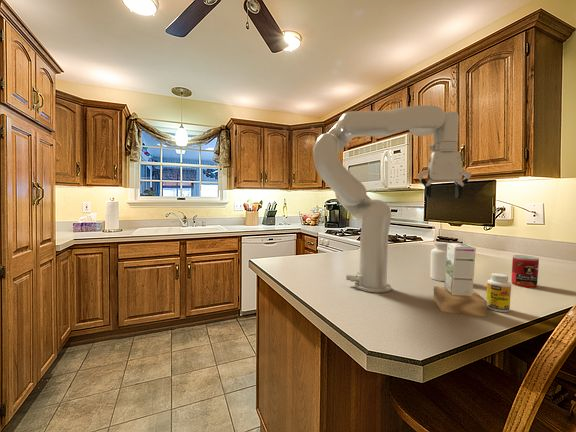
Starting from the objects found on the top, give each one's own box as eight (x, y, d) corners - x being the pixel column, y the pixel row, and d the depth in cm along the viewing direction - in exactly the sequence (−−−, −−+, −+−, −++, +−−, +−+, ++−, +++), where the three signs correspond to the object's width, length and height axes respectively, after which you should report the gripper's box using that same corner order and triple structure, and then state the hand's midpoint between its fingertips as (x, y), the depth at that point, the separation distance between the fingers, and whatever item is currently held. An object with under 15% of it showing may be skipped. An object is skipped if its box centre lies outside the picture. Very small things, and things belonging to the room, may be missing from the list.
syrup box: (472, 297, 80) (477, 247, 78) (450, 295, 81) (454, 246, 79) (463, 289, 86) (468, 243, 84) (443, 288, 87) (446, 242, 85)
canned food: (515, 286, 105) (517, 257, 105) (508, 281, 113) (509, 254, 112) (541, 289, 102) (543, 259, 102) (531, 283, 110) (533, 255, 109)
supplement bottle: (486, 310, 81) (488, 275, 81) (485, 304, 86) (486, 271, 85) (511, 314, 78) (513, 278, 78) (508, 308, 83) (510, 274, 82)
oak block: (441, 312, 80) (441, 296, 80) (433, 299, 90) (433, 286, 90) (486, 317, 77) (486, 301, 76) (472, 304, 87) (473, 289, 87)
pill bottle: (431, 275, 120) (433, 240, 119) (453, 278, 115) (454, 242, 114) (428, 279, 113) (429, 242, 112) (451, 283, 108) (452, 244, 108)
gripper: (421, 147, 96) (420, 197, 97) (477, 146, 93) (474, 197, 94) (415, 151, 104) (414, 197, 105) (467, 150, 101) (464, 198, 102)
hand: (442, 197), depth 99 cm, fingers open, 9 cm apart
